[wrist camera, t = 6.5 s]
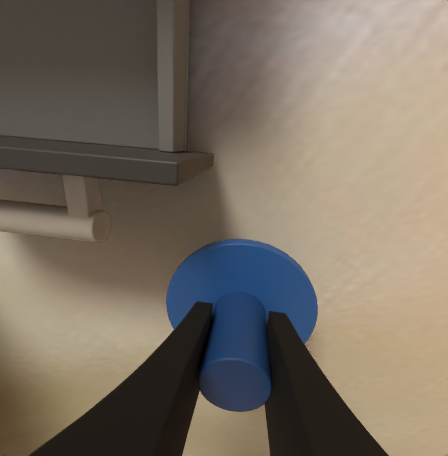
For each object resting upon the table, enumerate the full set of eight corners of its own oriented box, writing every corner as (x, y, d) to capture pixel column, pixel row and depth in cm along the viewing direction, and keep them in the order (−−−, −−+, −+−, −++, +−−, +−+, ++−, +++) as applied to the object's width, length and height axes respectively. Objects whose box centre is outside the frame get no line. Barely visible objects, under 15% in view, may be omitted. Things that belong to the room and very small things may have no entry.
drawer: (210, 219, 12) (176, 280, 7) (-30, 193, 13) (-231, 228, 8) (229, -105, 8) (185, -651, 3) (-123, -107, 9) (-701, -498, 4)
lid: (299, 368, 11) (321, 470, 8) (169, 348, 12) (135, 435, 8) (330, 248, 9) (382, 314, 5) (169, 229, 9) (121, 280, 6)
